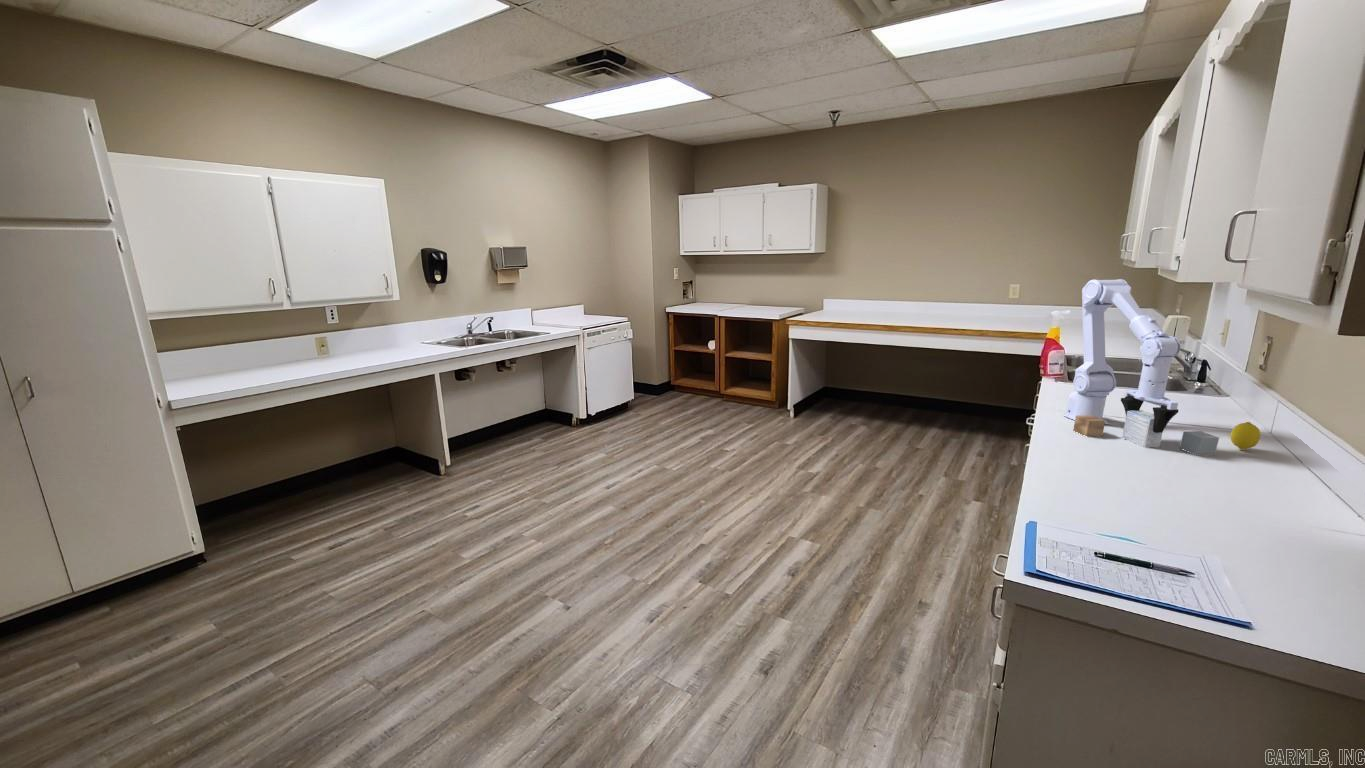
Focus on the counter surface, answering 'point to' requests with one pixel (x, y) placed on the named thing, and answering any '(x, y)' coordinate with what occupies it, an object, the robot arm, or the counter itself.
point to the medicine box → (1141, 429)
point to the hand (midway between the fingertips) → (1143, 427)
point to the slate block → (1199, 442)
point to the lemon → (1245, 435)
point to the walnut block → (1089, 425)
